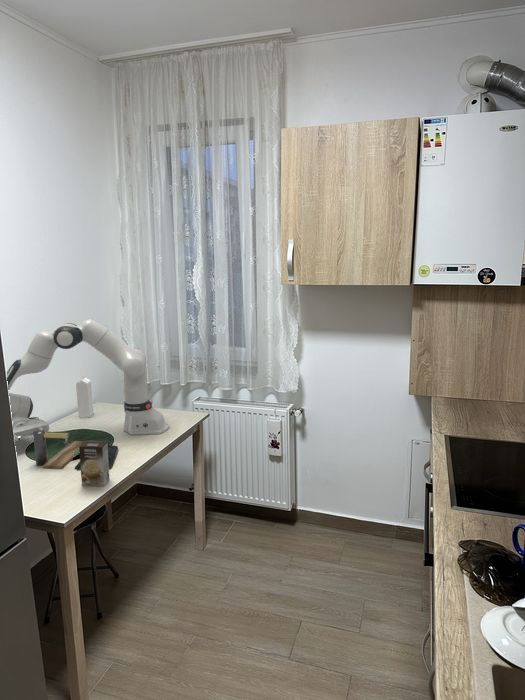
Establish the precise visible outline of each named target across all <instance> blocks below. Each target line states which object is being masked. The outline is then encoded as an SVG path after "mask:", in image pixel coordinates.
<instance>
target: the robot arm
mask: <svg viewBox="0 0 525 700" xmlns="http://www.w3.org/2000/svg"><path fill="white" fill-rule="evenodd" d="M82 342H85V344H86V343H87V344H88V345H90V346H91V347H92V348H93V349H95V350H96V351H98V352H99V353H101V354H102V355H104V357H106V358H107V359H108V360H109V361H110V362H111V363H112V364H114V365H115V366H116V367H117V368H118V369H119V370H121V372H123V390H124V391H123V392H124V393H123V394H124V402H123V409H124V424H123V428H122V429H123V431H124V432H127V433H128V434H129V435H131V436H132V435H133V436H135V435H139V436H140V435H160V434H163V433H165V432H166V431H168V430H169V428H170V423H169V422H167V421H166V420H165V417H164V414H162V413H161V412H160V411H158V410H157V409H156V408H154V407H153V400H151V401H150V400H149V397H148V396H149V395H148V375H147V373H148V371H147V358H146V355H145V353H144V352H143V351H142V350H140V349H139V348H132V347H130V346H129V345H128V344H127V343H126V342H125V341H124V340H123V338H121V337H120V336H118V335H117V334H116V333H114V332H113V331H111V330H110V329H109V328H107V327H106V326H104V325H103V324H101V323H100V322H98V321H96V320H93V319H89V318H87V319H85V320H84V321H82V322H81V324H80V325H77V324H75V323H71V322H70V323H64V324H61V325H59V326H58V327H57V328H56V330H54V331H53V332H51V331H47V330H40V331H38V332H37V333H36V334H35V336H34V337H33V339H32V341H31V342H30V344H29V346H28V348H27V351H26V353H25V354H24V355H23V356H22V357H21V358H19V359H16V360H15V361H14V362H12V364H11V365H10V367H9V368H8V370H7V371H6V373H7V381H8V390H9V391H10V390H11V388H12V387H13V384H14V383H15V382H16V380H17V379H18V378H20V377H21V376H22V377H23V376H24V375H31V374H37V373H42V372H43V371H45V370H47V369H48V367H49V366H50V364H51V361H52V360H53V358H54V354H55V352H56V351H57V349H58V348H60V349H63V350H70V349H73V348H75V346H77V345H79V344H80V343H82ZM8 393H9V396H10V405H11V412H12V421H13V430H14V437H15V440H14V441H17V442H18V441H21V440H22V439H25V438H26V437H27V438H28V437H31V436H33V432H34V431H37V430H45V432H49V431H50V425H49V422H47V421H45V420H44V419H40V417H39V416H33V417H31V415H32V413H33V411H34V403H33V400H32V399H31V397H30V396H28V395H24V394H18V393H12V392H8Z"/></svg>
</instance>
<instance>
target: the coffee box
mask: <svg viewBox="0 0 525 700" xmlns="http://www.w3.org/2000/svg"><path fill="white" fill-rule="evenodd" d="M108 443H109V442H108V440H89V439H88V440H87V439H85V440H84V442H83V443H82V444H81V445H80V446H79V452H80V453H79V462H80V466H81V470H80V476H81V477H80V478H81V486H83V487H86V486H87V487H106V485H107V484H108V482H109V481H110V469H109V460H108V445H109V444H108Z"/></svg>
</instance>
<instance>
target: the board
mask: <svg viewBox="0 0 525 700" xmlns="http://www.w3.org/2000/svg"><path fill="white" fill-rule="evenodd" d="M84 441H85V440H84ZM84 441H83V440H82V441H81V440H79V441H78V440H77V441H76V440H72V441H71V442H69V444H67V445H66V446H65V447H64V448H62V449H61V450H60V451H59V452H58V453H56V454H55V455H54V456H52V457H51V458H50V459H48V462H46V463H45V464H44V465H43V466H42V468H43V469H54V470H55V469H56V470H57V469H58V470H62V469H64V468H65V467H66V466H67V465H68V464H70V462H71V461H72V460H73V456H74V452H75V450H76V451H77V449H79V446H80V445H81V444H82V443H83V442H84Z"/></svg>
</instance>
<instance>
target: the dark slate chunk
mask: <svg viewBox="0 0 525 700" xmlns="http://www.w3.org/2000/svg"><path fill="white" fill-rule="evenodd" d="M118 450H119V447H118V445H113V444H111V445H110V444H108V460H109V470H110V469H112V467H113V465H114V462H115V461H116V460H115V459H116V457H117V452H118ZM74 470H76V471H79V472H81V466H80V461H79V462H78V463H77V464H76V466H74Z"/></svg>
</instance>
